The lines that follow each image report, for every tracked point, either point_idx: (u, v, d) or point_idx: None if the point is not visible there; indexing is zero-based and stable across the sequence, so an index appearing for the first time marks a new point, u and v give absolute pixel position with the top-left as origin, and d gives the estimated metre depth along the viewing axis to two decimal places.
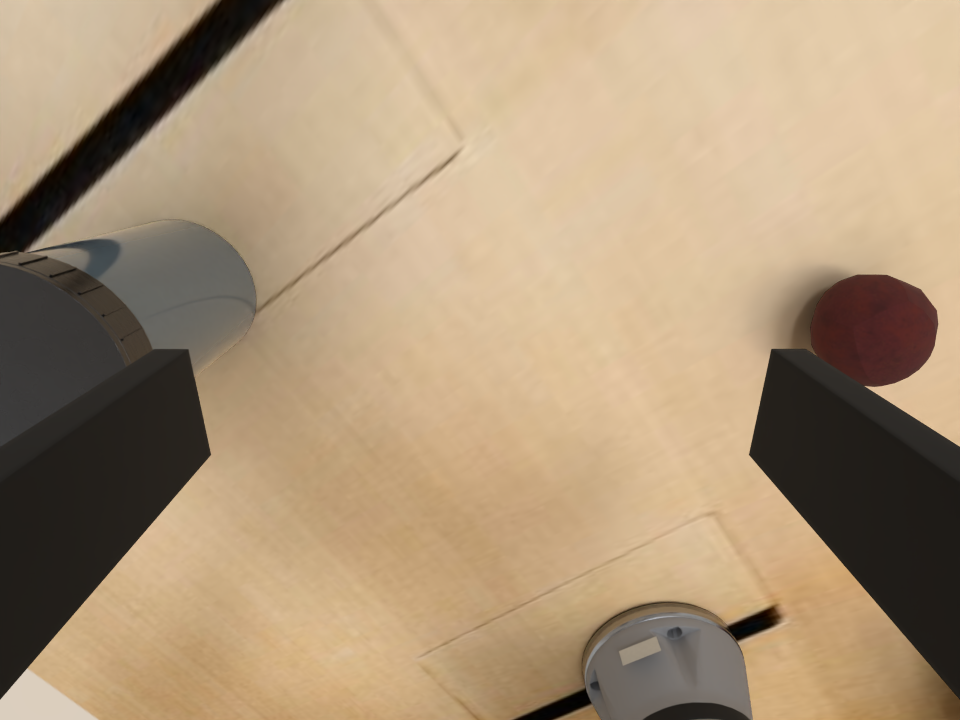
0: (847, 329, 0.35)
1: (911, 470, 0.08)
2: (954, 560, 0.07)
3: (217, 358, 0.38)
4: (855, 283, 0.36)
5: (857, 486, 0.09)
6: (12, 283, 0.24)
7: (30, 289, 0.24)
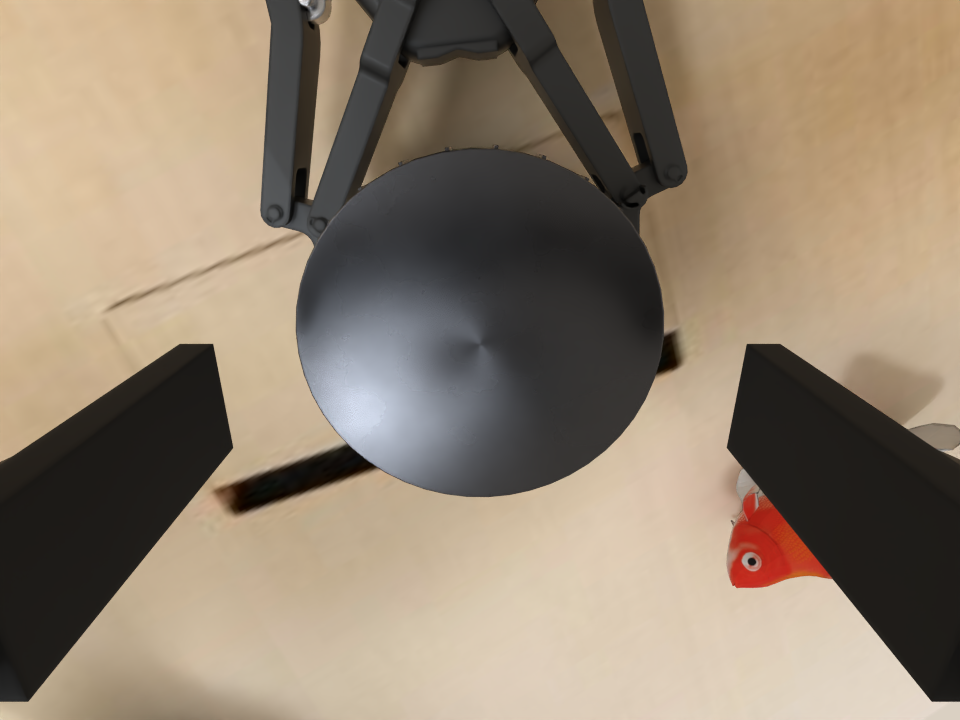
0: None
1: (870, 458, 0.08)
2: (908, 544, 0.08)
3: None
4: None
5: (823, 475, 0.10)
6: (400, 459, 0.18)
7: (381, 446, 0.17)
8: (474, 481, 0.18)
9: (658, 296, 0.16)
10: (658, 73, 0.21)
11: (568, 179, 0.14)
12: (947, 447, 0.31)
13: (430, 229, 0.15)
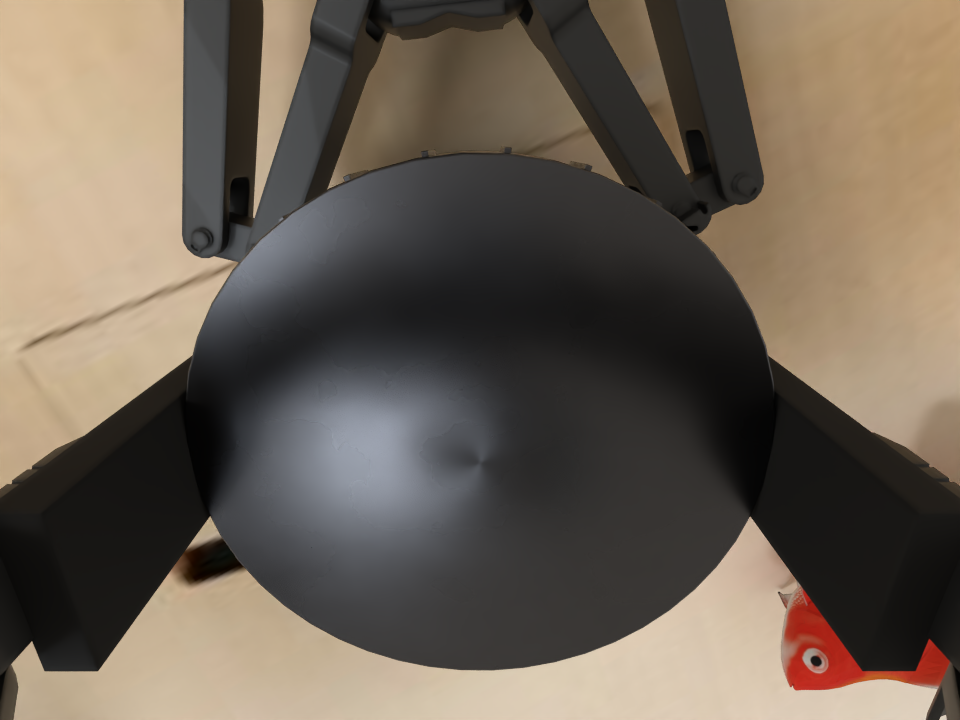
0: None
1: (813, 443, 0.09)
2: (843, 523, 0.08)
3: None
4: None
5: (774, 461, 0.10)
6: (360, 621, 0.12)
7: (330, 604, 0.11)
8: (471, 650, 0.12)
9: (768, 391, 0.10)
10: (730, 46, 0.15)
11: (630, 205, 0.08)
12: None
13: (397, 287, 0.09)
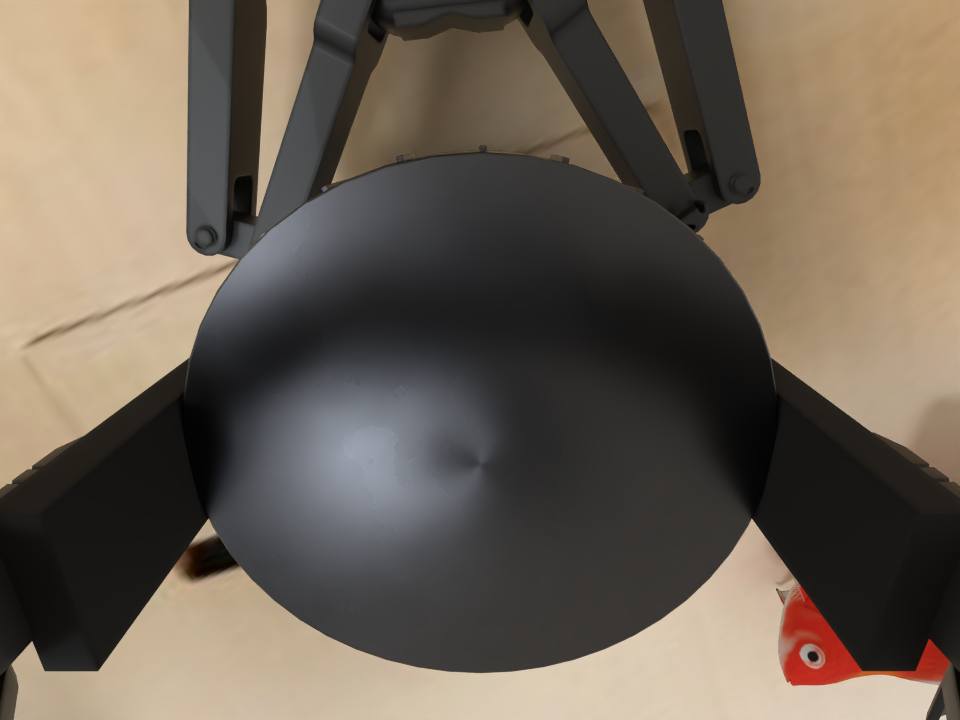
0: None
1: (813, 443, 0.09)
2: (843, 523, 0.08)
3: None
4: None
5: (774, 461, 0.10)
6: (666, 580, 0.11)
7: (639, 601, 0.11)
8: (733, 483, 0.10)
9: (399, 169, 0.08)
10: (727, 47, 0.15)
11: (211, 333, 0.09)
12: None
13: (304, 517, 0.11)
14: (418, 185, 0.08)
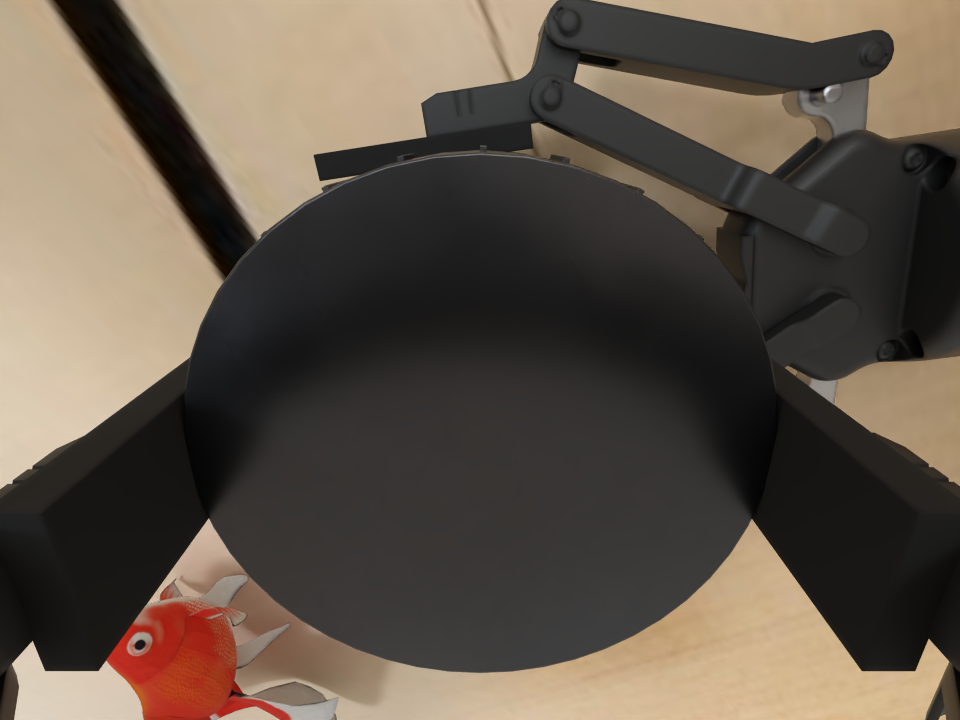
0: None
1: (813, 443, 0.09)
2: (843, 523, 0.08)
3: None
4: None
5: (774, 461, 0.10)
6: (666, 580, 0.11)
7: (639, 601, 0.11)
8: (733, 483, 0.10)
9: (399, 169, 0.08)
10: None
11: (211, 333, 0.09)
12: None
13: (304, 517, 0.11)
14: (418, 185, 0.08)
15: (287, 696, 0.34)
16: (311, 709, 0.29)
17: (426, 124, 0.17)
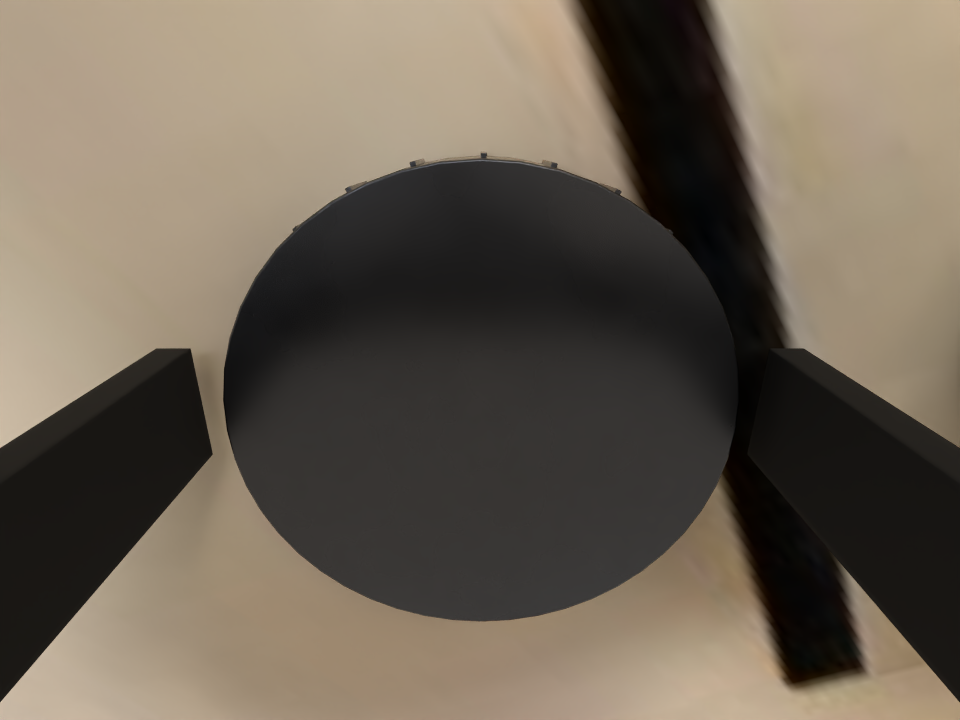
0: None
1: (908, 469, 0.08)
2: (951, 559, 0.07)
3: None
4: None
5: (855, 485, 0.09)
6: (645, 535, 0.13)
7: (622, 554, 0.13)
8: (702, 447, 0.12)
9: (413, 173, 0.10)
10: None
11: (249, 313, 0.11)
12: None
13: (326, 477, 0.12)
14: (428, 186, 0.10)
15: None
16: None
17: None
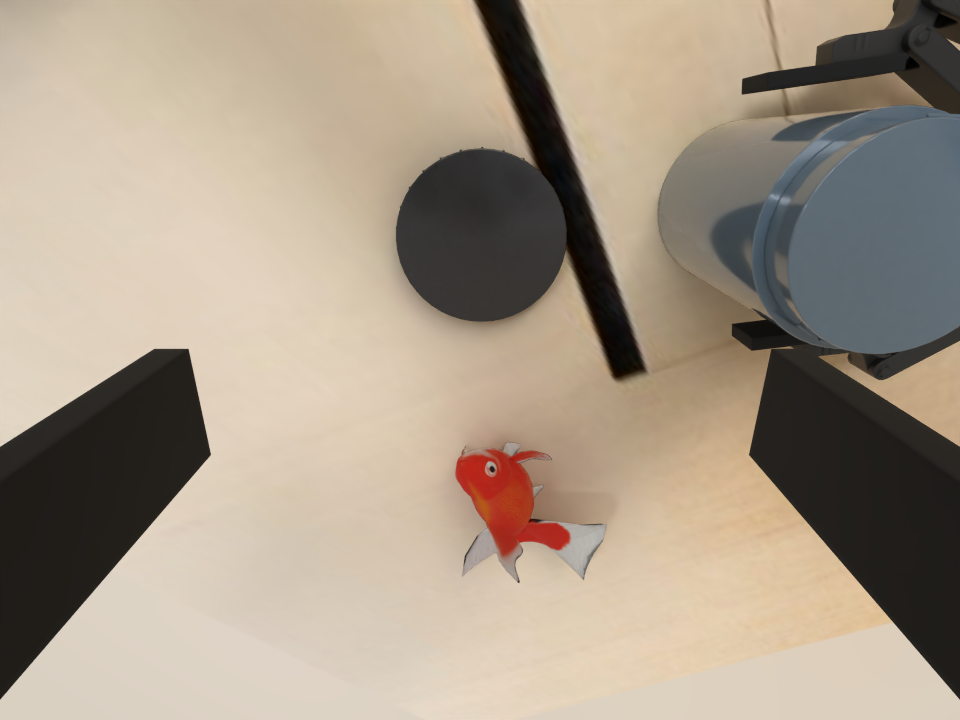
0: None
1: (912, 470, 0.08)
2: (955, 560, 0.07)
3: None
4: None
5: (857, 486, 0.09)
6: (539, 282, 0.36)
7: (531, 291, 0.36)
8: (556, 246, 0.35)
9: (461, 153, 0.33)
10: (950, 343, 0.31)
11: (408, 198, 0.34)
12: (577, 572, 0.42)
13: (428, 258, 0.35)
14: (465, 157, 0.33)
15: None
16: (589, 531, 0.39)
17: (833, 55, 0.26)
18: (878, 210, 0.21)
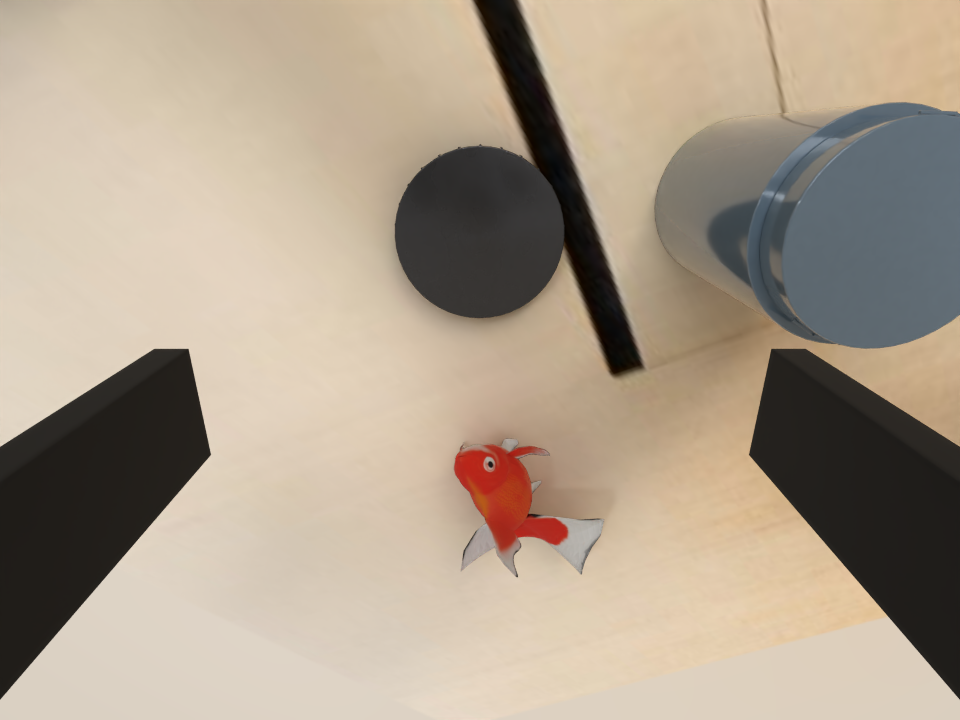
0: None
1: (911, 470, 0.08)
2: (954, 560, 0.07)
3: None
4: None
5: (857, 486, 0.09)
6: (537, 279, 0.36)
7: (529, 287, 0.36)
8: (553, 243, 0.35)
9: (459, 150, 0.33)
10: None
11: (406, 195, 0.34)
12: (575, 567, 0.42)
13: (427, 255, 0.35)
14: (464, 154, 0.33)
15: None
16: (587, 526, 0.39)
17: None
18: (871, 206, 0.21)
